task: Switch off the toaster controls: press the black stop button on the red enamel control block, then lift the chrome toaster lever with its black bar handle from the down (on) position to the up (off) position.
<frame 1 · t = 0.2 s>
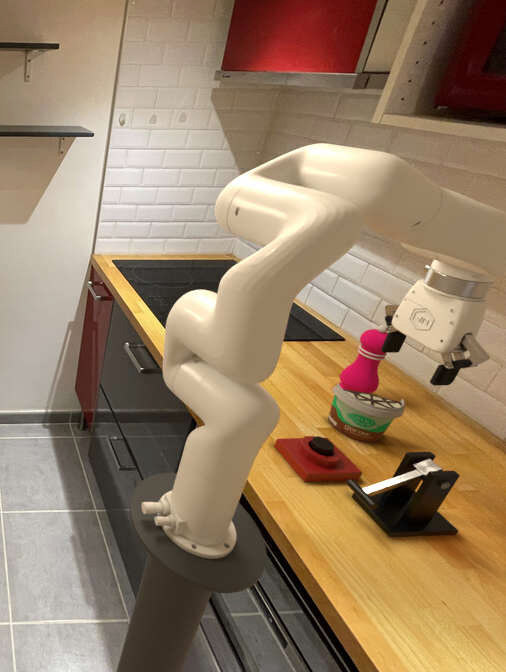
hand: (413, 367, 81), 24 cm above the worktop, tool pointing down, fingers open, 9 cm apart
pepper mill: (351, 395, 110), on the worktop
food container: (356, 436, 98), on the worktop
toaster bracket: (401, 515, 80), on the worktop
stop button: (321, 446, 89), point 4 cm above the worktop, slide at 0.1 cm
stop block: (314, 462, 91), on the worktop
toaster lever: (396, 482, 76), point 9 cm above the worktop, hinge at -28.0°
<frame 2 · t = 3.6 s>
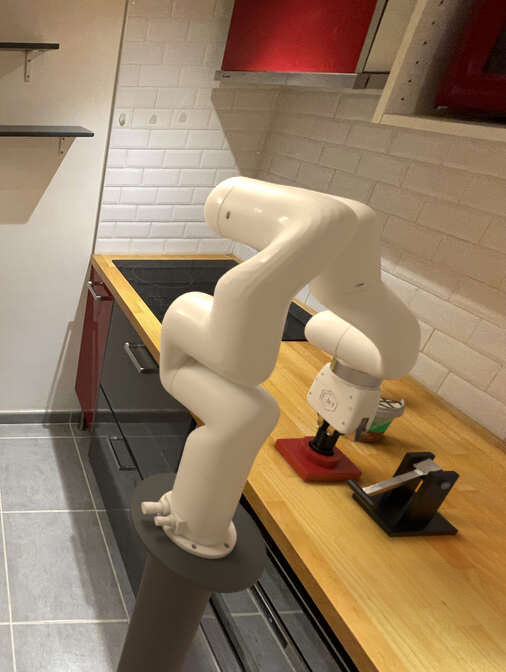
hand: (323, 444, 89), 5 cm above the worktop, tool pointing down, fingers closed
stop button: (320, 448, 89), point 4 cm above the worktop, slide at -0.5 cm, touching gripper
everything else where it was.
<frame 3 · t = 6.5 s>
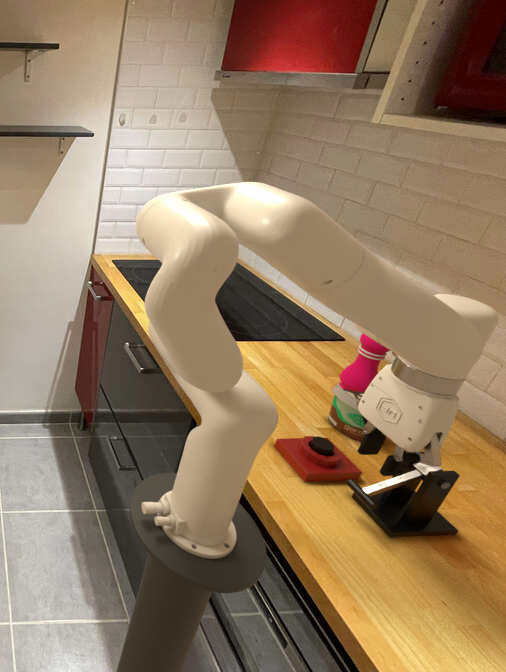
hand: (378, 462, 74), 13 cm above the worktop, tool pointing down, fingers open, 3 cm apart
stop button: (321, 446, 89), point 4 cm above the worktop, slide at 0.1 cm
everything else where it was.
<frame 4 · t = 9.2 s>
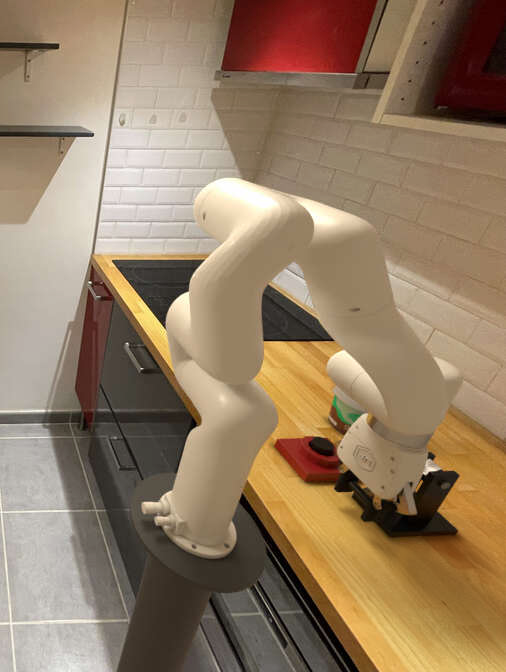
hand: (356, 504, 78), 3 cm above the worktop, tool pointing down, fingers closed on toaster lever, 5 cm apart
toaster lever: (396, 482, 76), point 9 cm above the worktop, hinge at -28.0°, touching gripper
everything else where it was.
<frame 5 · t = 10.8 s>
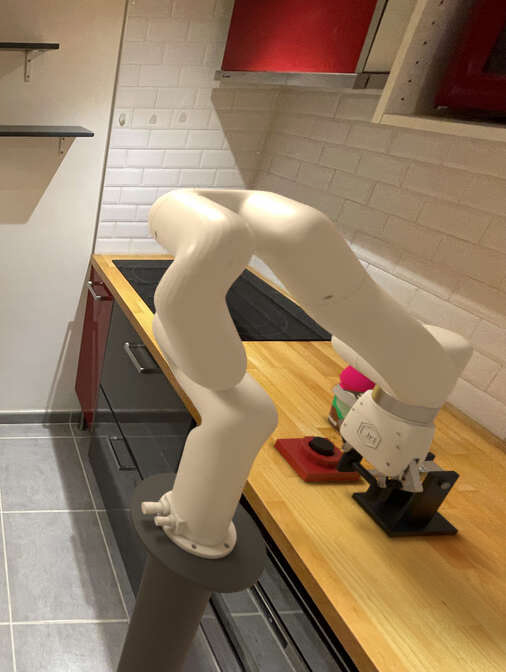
hand: (359, 484, 76), 8 cm above the worktop, tool pointing down, fingers closed on toaster lever, 5 cm apart
toaster lever: (398, 472, 75), point 11 cm above the worktop, hinge at -1.7°, touching gripper
everything else where it was.
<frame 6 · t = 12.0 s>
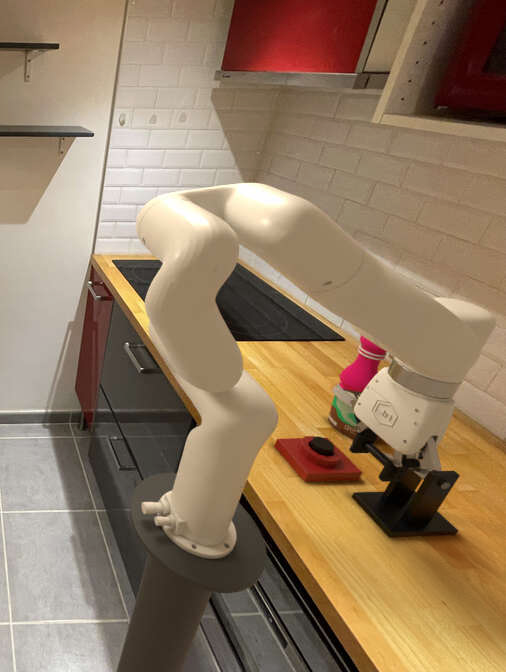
hand: (373, 464, 74), 13 cm above the worktop, tool pointing down, fingers closed on toaster lever, 5 cm apart
toaster lever: (405, 463, 75), point 13 cm above the worktop, hinge at 21.0°, touching gripper
everything else where it was.
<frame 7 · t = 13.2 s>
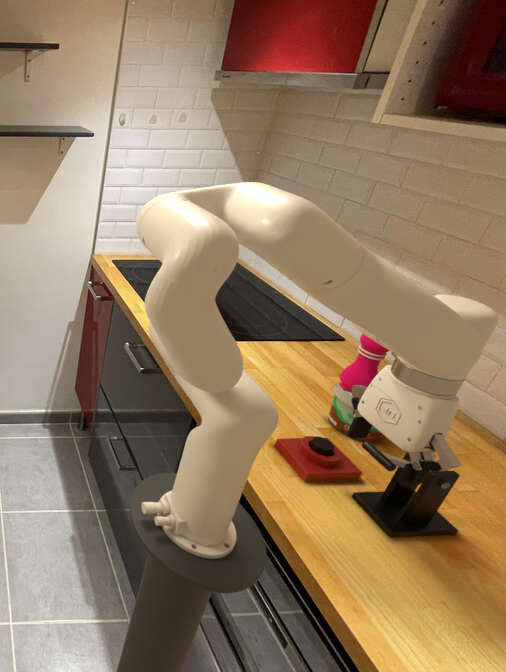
hand: (380, 458, 74), 14 cm above the worktop, tool pointing down, fingers open, 9 cm apart
toaster lever: (405, 464, 75), point 13 cm above the worktop, hinge at 20.3°
everything else where it was.
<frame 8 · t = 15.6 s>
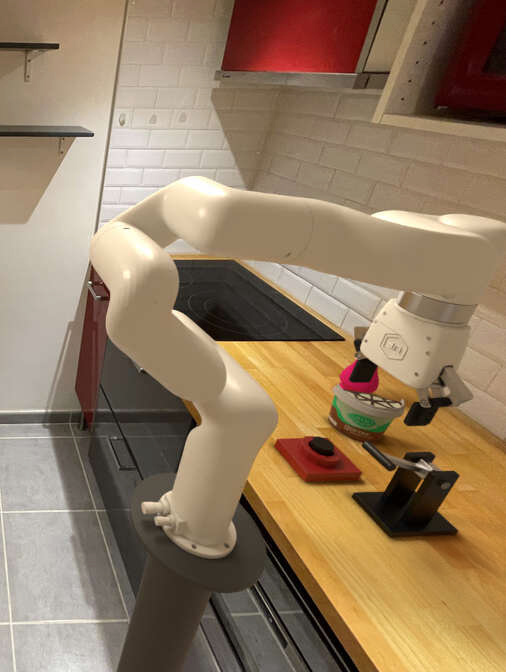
hand: (384, 401, 69), 26 cm above the worktop, tool pointing down, fingers open, 9 cm apart
nothing on the worktop moved.
at the end: stop button pushed in 1.1 cm at the most during the clip, back to where it started at the end; stop button slide at 0.1 cm; toaster lever at +20° (first picture: -28°) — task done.
